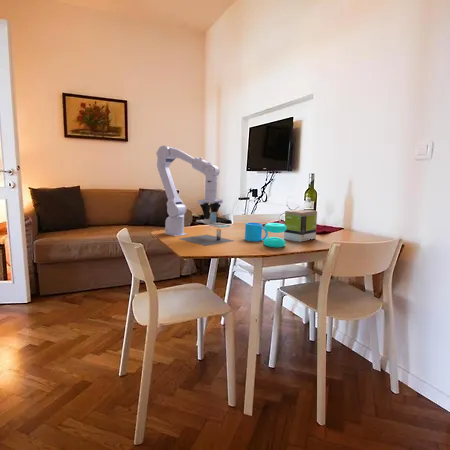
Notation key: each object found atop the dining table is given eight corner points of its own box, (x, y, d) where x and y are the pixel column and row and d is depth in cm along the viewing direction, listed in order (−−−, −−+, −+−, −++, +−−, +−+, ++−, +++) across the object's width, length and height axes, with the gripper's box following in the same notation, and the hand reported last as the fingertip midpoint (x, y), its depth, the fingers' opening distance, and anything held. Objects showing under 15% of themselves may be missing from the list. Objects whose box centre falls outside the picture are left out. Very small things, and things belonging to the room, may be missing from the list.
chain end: (193, 222, 168) (194, 210, 167) (204, 221, 173) (204, 209, 172) (219, 227, 156) (219, 214, 155) (229, 226, 161) (230, 213, 160)
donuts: (279, 222, 161) (291, 225, 152) (277, 243, 162) (289, 247, 153) (260, 222, 157) (271, 226, 148) (259, 244, 158) (270, 248, 149)
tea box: (299, 236, 184) (301, 208, 182) (316, 239, 177) (318, 210, 175) (282, 239, 173) (284, 210, 171) (299, 242, 166) (302, 212, 164)
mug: (241, 240, 166) (242, 223, 164) (250, 238, 172) (251, 222, 171) (262, 244, 158) (263, 226, 157) (271, 241, 165) (272, 225, 164)
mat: (178, 239, 161) (178, 238, 161) (207, 235, 174) (207, 234, 174) (205, 246, 148) (205, 245, 148) (234, 241, 161) (234, 240, 161)
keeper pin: (215, 239, 162) (215, 229, 161) (218, 239, 163) (218, 228, 162) (218, 240, 160) (218, 229, 160) (221, 240, 162) (221, 229, 161)
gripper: (205, 191, 155) (204, 220, 157) (227, 190, 165) (226, 218, 167) (195, 190, 160) (194, 218, 162) (217, 189, 170) (216, 216, 172)
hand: (209, 218), depth 165 cm, fingers closed on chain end, 4 cm apart
